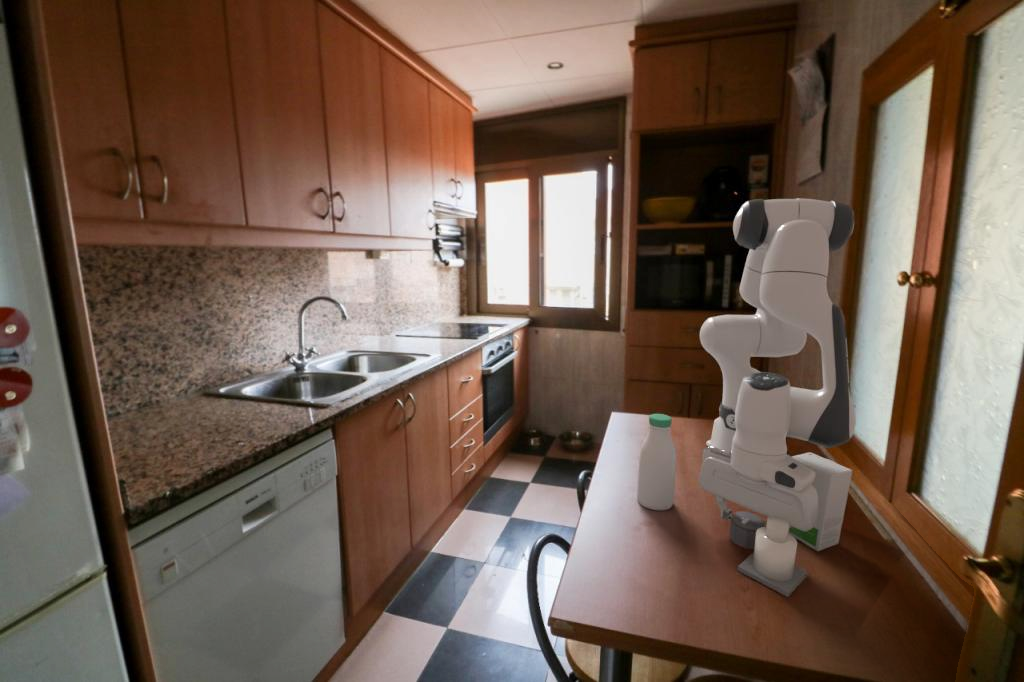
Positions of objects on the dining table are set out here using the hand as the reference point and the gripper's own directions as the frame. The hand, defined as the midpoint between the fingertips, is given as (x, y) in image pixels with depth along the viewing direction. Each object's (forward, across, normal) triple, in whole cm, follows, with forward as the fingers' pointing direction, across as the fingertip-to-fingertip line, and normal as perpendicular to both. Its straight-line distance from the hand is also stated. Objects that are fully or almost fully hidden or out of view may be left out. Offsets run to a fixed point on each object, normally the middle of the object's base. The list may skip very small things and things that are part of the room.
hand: (750, 529), depth 85 cm
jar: (+3, +6, -6) cm, 9 cm away
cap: (+3, 0, 0) cm, 3 cm away
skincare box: (+3, +7, +11) cm, 13 cm away
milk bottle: (+3, -20, -2) cm, 20 cm away
